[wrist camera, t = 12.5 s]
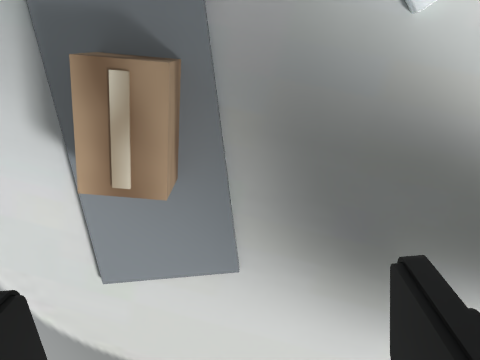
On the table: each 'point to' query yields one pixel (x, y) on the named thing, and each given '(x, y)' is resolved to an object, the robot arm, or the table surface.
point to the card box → (125, 124)
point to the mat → (190, 138)
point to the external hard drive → (418, 5)
